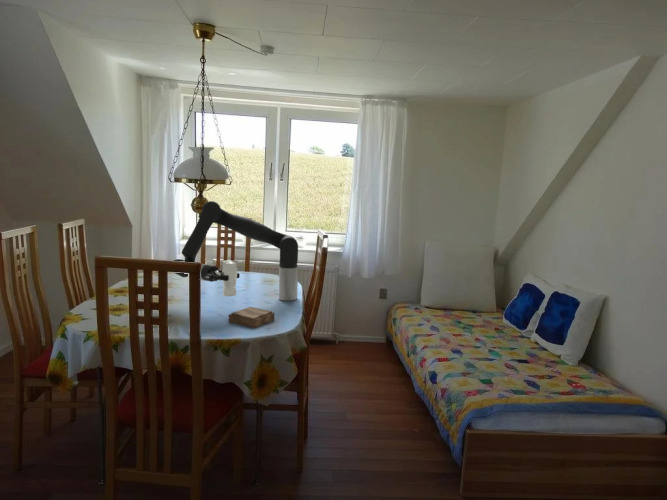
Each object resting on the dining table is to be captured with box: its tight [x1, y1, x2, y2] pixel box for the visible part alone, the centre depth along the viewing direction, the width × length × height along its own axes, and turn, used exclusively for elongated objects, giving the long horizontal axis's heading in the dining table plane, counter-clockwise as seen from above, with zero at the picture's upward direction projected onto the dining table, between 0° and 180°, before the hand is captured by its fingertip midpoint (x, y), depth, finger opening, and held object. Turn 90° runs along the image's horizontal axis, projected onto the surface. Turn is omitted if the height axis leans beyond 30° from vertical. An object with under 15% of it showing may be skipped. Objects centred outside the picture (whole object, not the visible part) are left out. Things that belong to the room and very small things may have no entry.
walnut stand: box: [228, 306, 275, 329], centre depth 195 cm, size 14×14×4 cm
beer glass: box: [221, 260, 238, 297], centre depth 199 cm, size 7×7×15 cm
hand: (233, 277), depth 198 cm, fingers closed on beer glass, 6 cm apart
